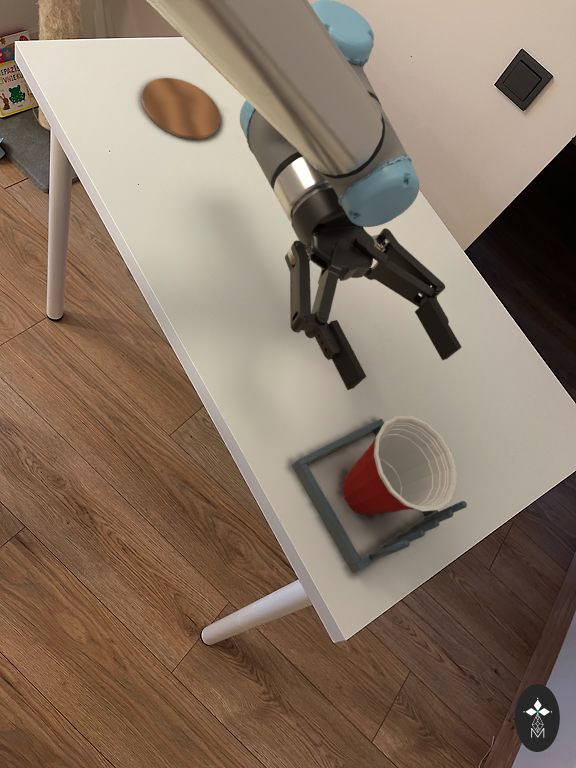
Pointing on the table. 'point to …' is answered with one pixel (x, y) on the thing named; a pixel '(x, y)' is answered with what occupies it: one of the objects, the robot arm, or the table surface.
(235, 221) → the table surface
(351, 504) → the plastic cup
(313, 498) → the grey square frame
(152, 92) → the wooden coaster
